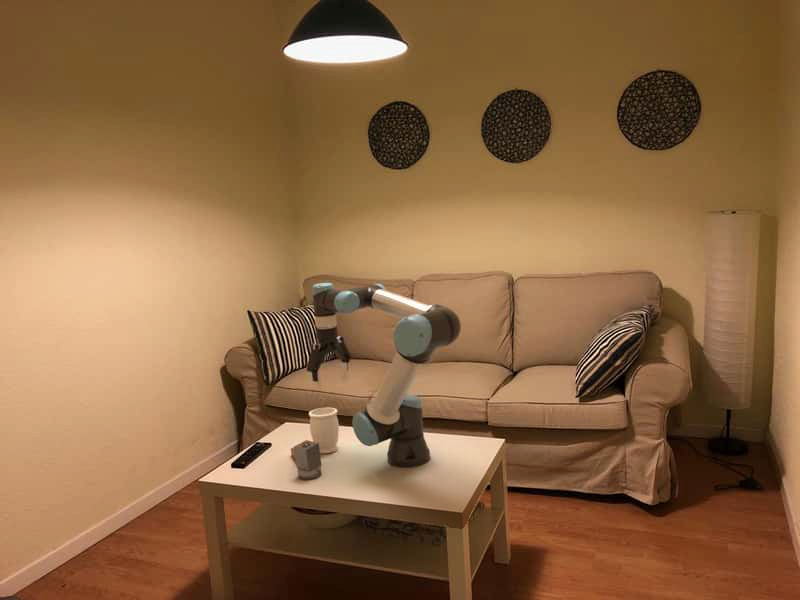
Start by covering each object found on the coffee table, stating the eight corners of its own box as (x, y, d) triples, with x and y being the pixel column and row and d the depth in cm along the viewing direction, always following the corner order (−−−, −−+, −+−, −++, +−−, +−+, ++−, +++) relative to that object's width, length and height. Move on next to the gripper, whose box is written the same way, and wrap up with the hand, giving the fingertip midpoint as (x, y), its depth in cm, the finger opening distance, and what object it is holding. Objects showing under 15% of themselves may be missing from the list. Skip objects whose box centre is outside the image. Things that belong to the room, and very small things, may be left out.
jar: (343, 444, 262) (339, 406, 260) (337, 454, 252) (334, 415, 250) (315, 445, 263) (312, 407, 261) (309, 455, 253) (305, 416, 251)
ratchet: (324, 477, 233) (322, 457, 232) (301, 482, 230) (299, 462, 229) (306, 452, 257) (304, 434, 256) (285, 456, 254) (283, 438, 253)
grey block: (321, 465, 235) (318, 442, 233) (309, 472, 230) (305, 449, 229) (309, 461, 239) (306, 439, 237) (296, 468, 234) (293, 445, 232)
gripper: (343, 319, 256) (347, 374, 259) (292, 333, 237) (298, 392, 240) (357, 320, 251) (362, 377, 254) (308, 334, 232) (313, 395, 235)
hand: (331, 384), depth 247 cm, fingers open, 13 cm apart
